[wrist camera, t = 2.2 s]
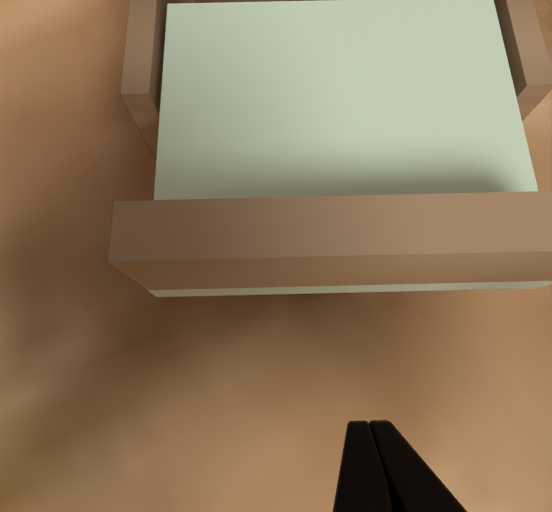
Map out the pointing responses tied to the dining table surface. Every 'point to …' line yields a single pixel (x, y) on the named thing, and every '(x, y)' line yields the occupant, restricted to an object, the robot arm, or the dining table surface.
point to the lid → (336, 154)
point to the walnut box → (153, 3)
